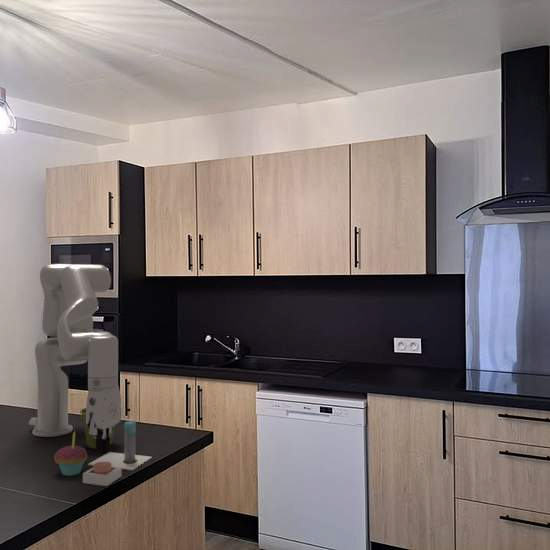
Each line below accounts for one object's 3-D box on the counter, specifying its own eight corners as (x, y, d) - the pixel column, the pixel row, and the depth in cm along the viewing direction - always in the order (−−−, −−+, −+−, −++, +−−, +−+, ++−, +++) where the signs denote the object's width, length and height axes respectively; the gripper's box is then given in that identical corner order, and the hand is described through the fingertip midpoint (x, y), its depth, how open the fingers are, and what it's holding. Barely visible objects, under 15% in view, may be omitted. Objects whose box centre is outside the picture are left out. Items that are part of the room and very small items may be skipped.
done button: (90, 475, 149) (90, 466, 149) (99, 470, 153) (99, 460, 153) (105, 477, 147) (105, 468, 147) (114, 472, 152) (114, 462, 152)
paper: (88, 465, 161) (88, 463, 161) (109, 453, 172) (109, 451, 172) (132, 470, 157) (132, 469, 157) (151, 457, 168) (152, 456, 168)
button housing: (82, 483, 148) (82, 473, 148) (98, 473, 155) (98, 464, 155) (106, 486, 146) (106, 476, 146) (121, 476, 153) (121, 467, 153)
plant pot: (126, 441, 183) (126, 406, 183) (105, 453, 172) (106, 415, 171) (93, 438, 186) (93, 403, 186) (71, 449, 175) (71, 412, 175)
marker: (122, 462, 163) (122, 423, 162) (127, 458, 166) (127, 420, 165) (131, 463, 162) (132, 424, 162) (137, 459, 165) (137, 421, 165)
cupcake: (93, 472, 155) (93, 428, 155) (64, 481, 149) (64, 435, 149) (77, 465, 161) (77, 422, 161) (47, 472, 155) (48, 428, 155)
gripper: (99, 389, 142) (99, 463, 142) (130, 378, 156) (130, 445, 156) (73, 387, 144) (72, 460, 144) (106, 377, 158) (106, 443, 158)
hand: (102, 452), depth 150 cm, fingers closed
